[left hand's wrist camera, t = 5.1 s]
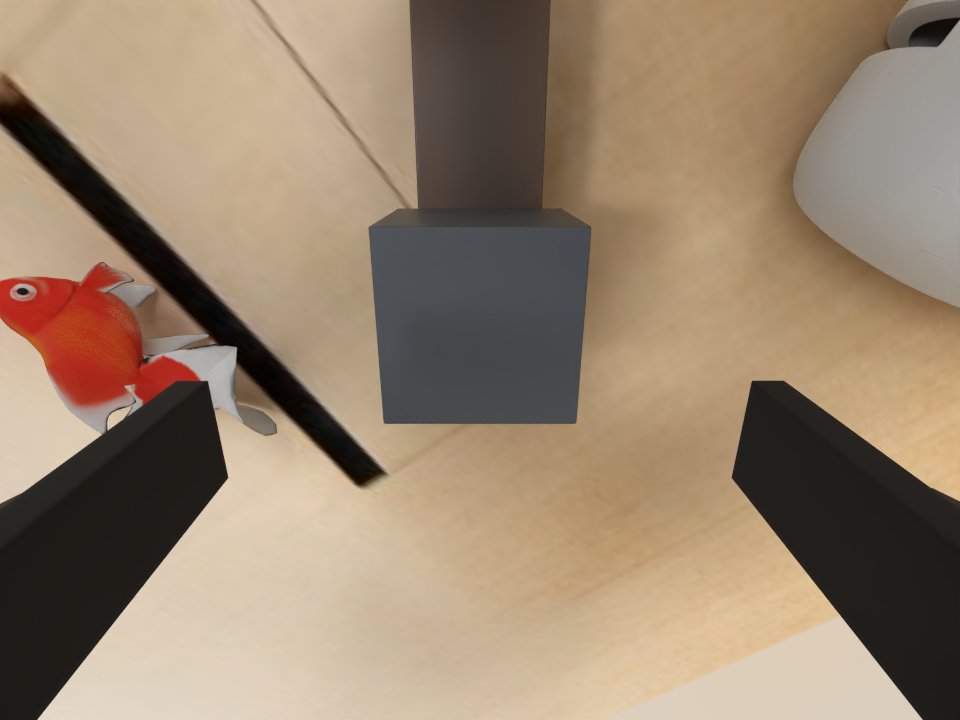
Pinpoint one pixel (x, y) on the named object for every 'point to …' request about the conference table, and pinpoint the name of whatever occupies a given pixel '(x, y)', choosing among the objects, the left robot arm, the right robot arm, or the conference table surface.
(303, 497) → the conference table surface
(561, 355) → the grey block
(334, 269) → the conference table surface
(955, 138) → the projector
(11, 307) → the fish
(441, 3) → the long brown block
